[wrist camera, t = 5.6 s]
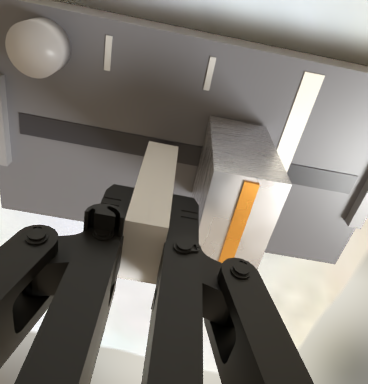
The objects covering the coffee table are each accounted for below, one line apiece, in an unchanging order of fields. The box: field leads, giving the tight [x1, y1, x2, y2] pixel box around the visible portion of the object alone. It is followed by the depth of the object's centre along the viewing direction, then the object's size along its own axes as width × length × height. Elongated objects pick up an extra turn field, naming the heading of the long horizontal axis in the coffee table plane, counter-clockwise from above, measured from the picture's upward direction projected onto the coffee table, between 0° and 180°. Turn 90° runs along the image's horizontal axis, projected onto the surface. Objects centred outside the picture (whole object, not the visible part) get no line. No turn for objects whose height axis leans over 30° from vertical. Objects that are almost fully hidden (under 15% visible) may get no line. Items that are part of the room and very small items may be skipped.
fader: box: [191, 116, 292, 269], centre depth 17 cm, size 5×3×6 cm, turn 169°
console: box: [0, 0, 368, 264], centre depth 20 cm, size 12×22×4 cm, turn 79°
